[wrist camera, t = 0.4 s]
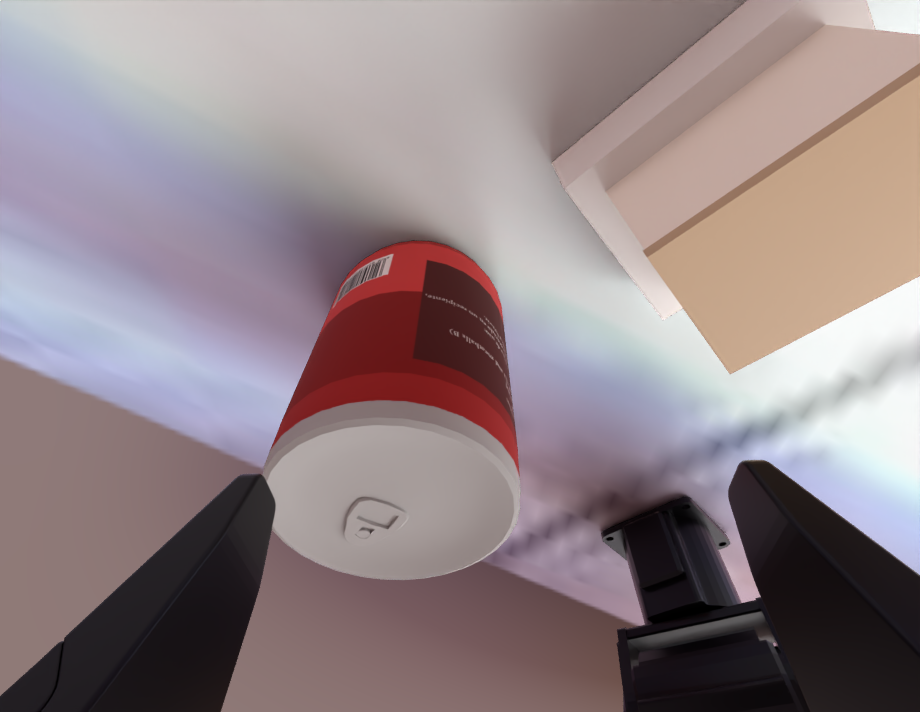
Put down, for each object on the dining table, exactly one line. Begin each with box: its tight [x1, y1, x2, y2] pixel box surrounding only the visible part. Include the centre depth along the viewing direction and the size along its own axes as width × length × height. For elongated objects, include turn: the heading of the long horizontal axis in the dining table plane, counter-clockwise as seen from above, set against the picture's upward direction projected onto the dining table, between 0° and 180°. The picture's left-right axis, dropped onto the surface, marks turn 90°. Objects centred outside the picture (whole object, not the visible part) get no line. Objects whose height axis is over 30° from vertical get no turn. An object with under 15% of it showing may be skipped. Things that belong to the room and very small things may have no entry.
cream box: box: [605, 25, 920, 374], centre depth 14 cm, size 5×7×5 cm
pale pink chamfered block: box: [552, 0, 875, 320], centre depth 17 cm, size 7×9×3 cm
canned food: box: [263, 241, 521, 580], centre depth 19 cm, size 8×8×11 cm
